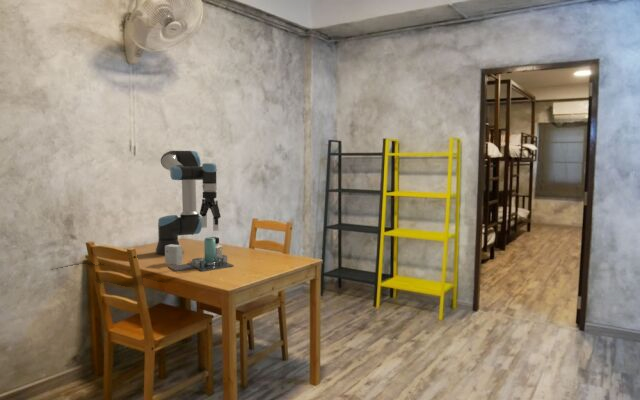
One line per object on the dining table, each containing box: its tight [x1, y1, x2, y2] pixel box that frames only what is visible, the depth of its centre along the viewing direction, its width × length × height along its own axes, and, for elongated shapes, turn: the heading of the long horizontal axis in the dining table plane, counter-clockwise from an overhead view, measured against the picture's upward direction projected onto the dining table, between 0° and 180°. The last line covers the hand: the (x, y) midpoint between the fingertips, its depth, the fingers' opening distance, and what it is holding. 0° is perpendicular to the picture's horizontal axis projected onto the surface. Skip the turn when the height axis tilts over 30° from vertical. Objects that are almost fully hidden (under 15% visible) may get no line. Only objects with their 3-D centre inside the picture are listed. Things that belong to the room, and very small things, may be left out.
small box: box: [164, 244, 184, 266], centre depth 260 cm, size 8×6×10 cm
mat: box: [167, 263, 197, 273], centre depth 250 cm, size 11×11×1 cm
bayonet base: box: [186, 253, 234, 272], centre depth 256 cm, size 19×19×5 cm
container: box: [209, 236, 223, 255], centre depth 274 cm, size 8×8×13 cm
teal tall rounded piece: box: [200, 237, 221, 264], centre depth 256 cm, size 6×12×14 cm, turn 130°
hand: (210, 229), depth 254 cm, fingers open, 13 cm apart
